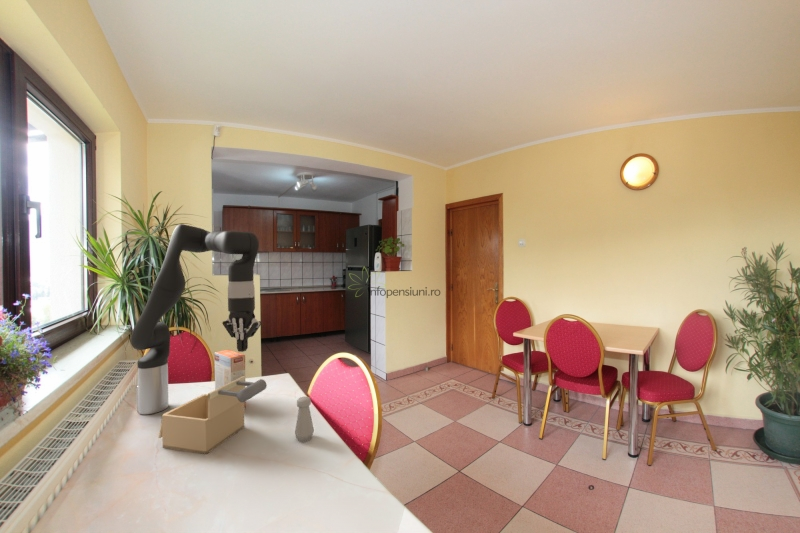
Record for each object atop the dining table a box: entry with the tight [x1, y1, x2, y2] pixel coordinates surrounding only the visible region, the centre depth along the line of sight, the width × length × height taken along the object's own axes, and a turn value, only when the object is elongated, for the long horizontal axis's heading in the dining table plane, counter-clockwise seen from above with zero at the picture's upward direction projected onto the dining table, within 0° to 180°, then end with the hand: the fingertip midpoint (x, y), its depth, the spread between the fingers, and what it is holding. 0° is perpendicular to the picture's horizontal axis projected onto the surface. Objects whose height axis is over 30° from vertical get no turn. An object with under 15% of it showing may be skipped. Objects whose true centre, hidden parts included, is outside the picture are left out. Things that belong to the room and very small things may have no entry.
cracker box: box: [214, 349, 247, 409], centre depth 127 cm, size 14×6×21 cm, turn 52°
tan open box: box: [158, 393, 245, 455], centre depth 105 cm, size 18×16×10 cm
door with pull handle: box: [207, 375, 268, 420], centre depth 101 cm, size 9×15×11 cm
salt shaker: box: [294, 396, 315, 443], centre depth 103 cm, size 6×6×13 cm
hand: (242, 350), depth 101 cm, fingers closed
